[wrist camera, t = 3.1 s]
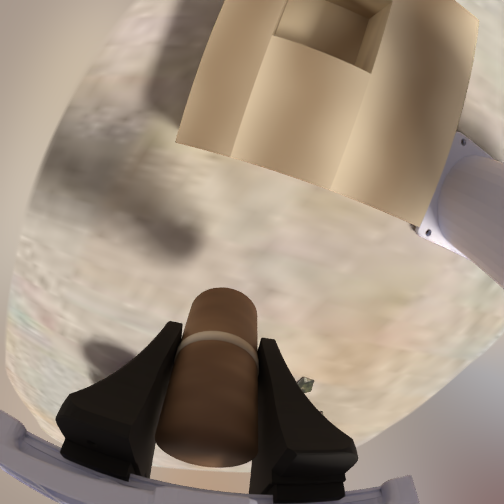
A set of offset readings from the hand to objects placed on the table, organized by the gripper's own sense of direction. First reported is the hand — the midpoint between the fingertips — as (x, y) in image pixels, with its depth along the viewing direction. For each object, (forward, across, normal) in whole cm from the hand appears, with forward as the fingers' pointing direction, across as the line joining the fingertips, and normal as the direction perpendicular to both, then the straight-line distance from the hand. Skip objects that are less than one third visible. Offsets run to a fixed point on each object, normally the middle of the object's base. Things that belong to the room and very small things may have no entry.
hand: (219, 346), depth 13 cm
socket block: (+7, -4, -15) cm, 17 cm away
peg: (+2, 0, 0) cm, 2 cm away
